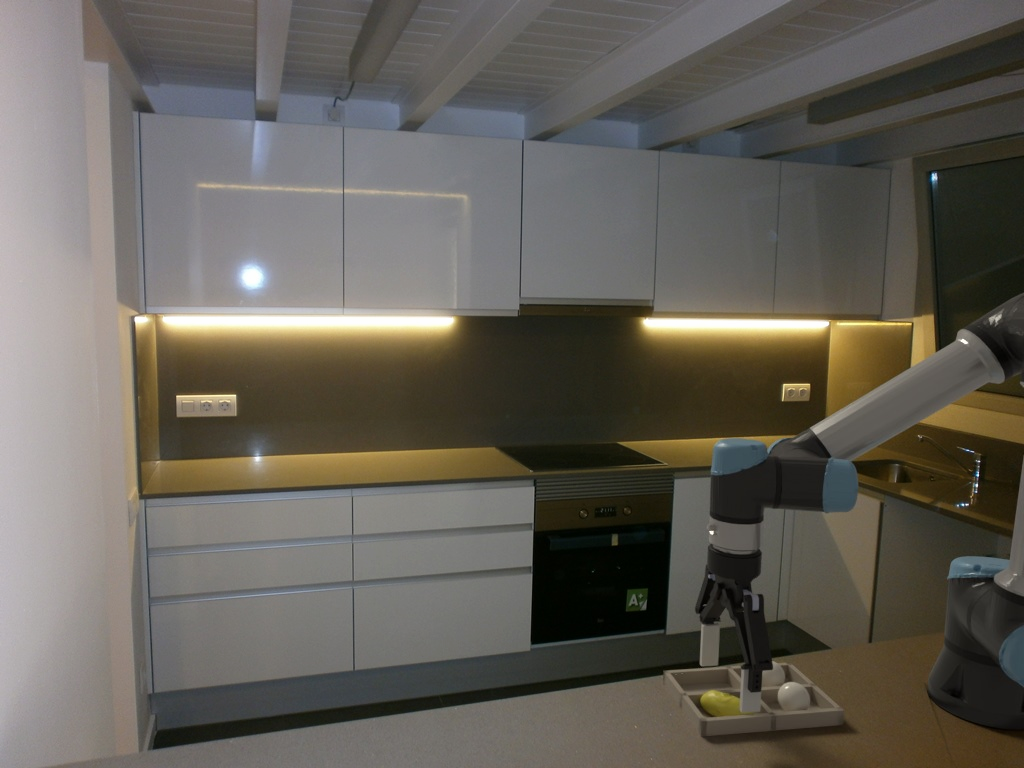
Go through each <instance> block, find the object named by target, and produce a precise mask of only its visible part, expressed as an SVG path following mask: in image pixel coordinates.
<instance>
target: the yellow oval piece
mask: <svg viewBox="0 0 1024 768" xmlns="http://www.w3.org/2000/svg"><path fill="white" fill-rule="evenodd" d="M700 702H701V706H702V707H703V709H704V710H705V711H706V712H708V713H709V714H711V715H713V716H715V717H723V716H736V715H749V714H755V712H746V713H742V712H741V711H740V698H737V697H735V696H732V695H730V694H726V693H723V692H719V691H716V690H711V691H708V692H706V693H705V694H703V696H702V697H701V699H700Z"/></svg>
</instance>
